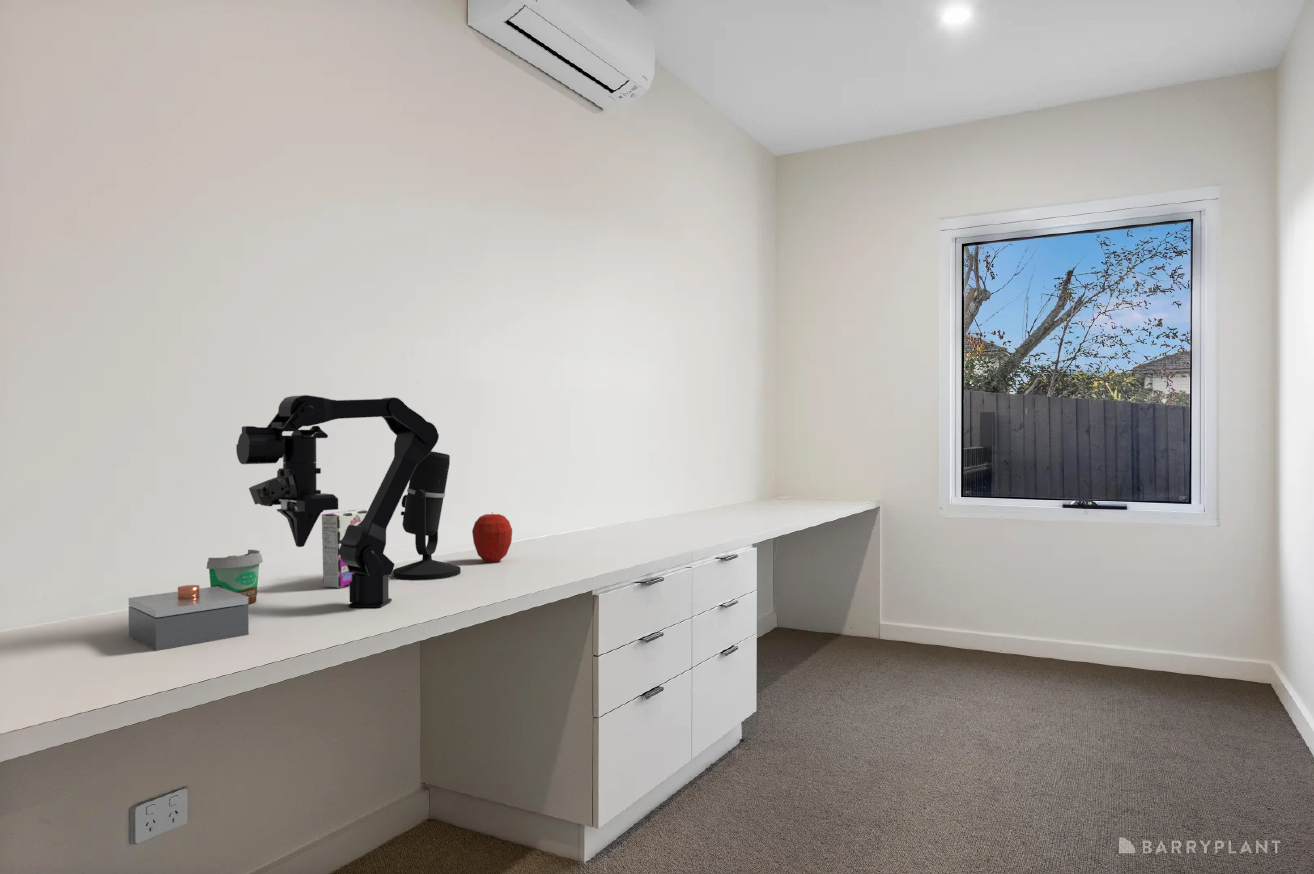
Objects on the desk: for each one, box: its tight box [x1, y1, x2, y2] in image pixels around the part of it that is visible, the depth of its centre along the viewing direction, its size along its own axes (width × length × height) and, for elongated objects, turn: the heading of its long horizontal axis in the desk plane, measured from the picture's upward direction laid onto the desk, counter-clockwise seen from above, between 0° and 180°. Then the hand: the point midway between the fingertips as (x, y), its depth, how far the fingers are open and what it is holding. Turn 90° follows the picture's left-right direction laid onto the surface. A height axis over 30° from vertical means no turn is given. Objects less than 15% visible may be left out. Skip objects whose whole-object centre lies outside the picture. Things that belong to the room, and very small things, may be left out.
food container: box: [206, 549, 264, 606], centre depth 165 cm, size 12×6×10 cm, turn 168°
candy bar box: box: [321, 508, 368, 589], centre depth 186 cm, size 11×5×16 cm, turn 161°
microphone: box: [392, 450, 462, 581], centre depth 199 cm, size 16×16×30 cm
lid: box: [128, 584, 248, 618], centre depth 139 cm, size 14×14×3 cm
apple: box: [471, 513, 513, 564], centre depth 218 cm, size 10×10×14 cm
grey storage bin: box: [128, 604, 250, 652], centre depth 139 cm, size 14×14×5 cm
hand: (300, 546), depth 153 cm, fingers closed
